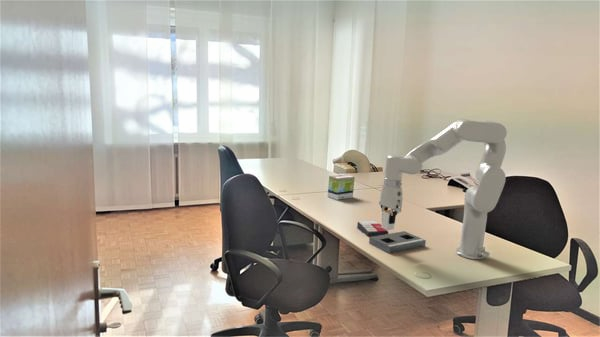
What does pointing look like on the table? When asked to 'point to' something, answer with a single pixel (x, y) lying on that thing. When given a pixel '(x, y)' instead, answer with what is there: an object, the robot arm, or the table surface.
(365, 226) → the calculator
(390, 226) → the plug
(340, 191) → the tea box
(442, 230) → the table surface
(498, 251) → the table surface
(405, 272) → the table surface
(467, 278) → the table surface
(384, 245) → the port panel
